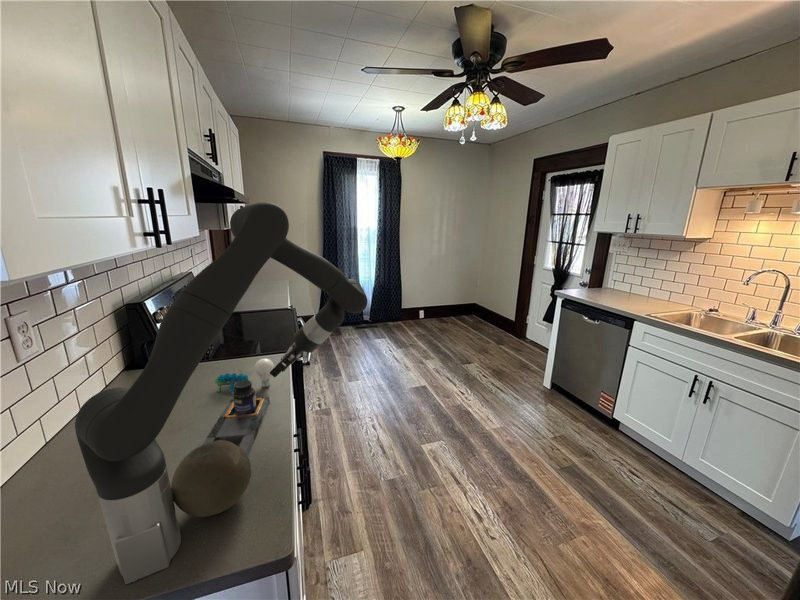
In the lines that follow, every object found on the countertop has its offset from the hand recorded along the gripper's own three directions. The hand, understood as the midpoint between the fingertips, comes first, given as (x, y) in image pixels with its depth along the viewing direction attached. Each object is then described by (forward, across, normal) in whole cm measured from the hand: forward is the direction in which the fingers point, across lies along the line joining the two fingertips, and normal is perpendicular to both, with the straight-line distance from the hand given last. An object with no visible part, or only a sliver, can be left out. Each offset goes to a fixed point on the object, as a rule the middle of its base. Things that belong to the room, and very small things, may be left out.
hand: (277, 367), depth 96 cm
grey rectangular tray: (+19, +8, +5) cm, 21 cm away
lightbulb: (+20, -17, +3) cm, 27 cm away
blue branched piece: (+29, -16, -5) cm, 33 cm away
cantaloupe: (+13, +33, +10) cm, 37 cm away
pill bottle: (+20, 0, +4) cm, 20 cm away
